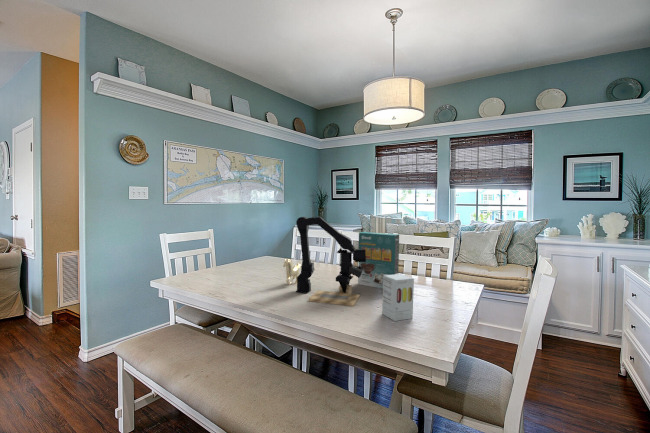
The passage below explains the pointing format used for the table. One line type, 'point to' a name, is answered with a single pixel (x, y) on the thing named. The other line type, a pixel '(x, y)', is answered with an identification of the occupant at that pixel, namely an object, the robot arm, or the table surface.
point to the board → (334, 298)
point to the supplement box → (398, 297)
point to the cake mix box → (378, 257)
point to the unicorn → (291, 270)
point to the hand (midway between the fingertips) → (345, 291)
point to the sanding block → (348, 291)
